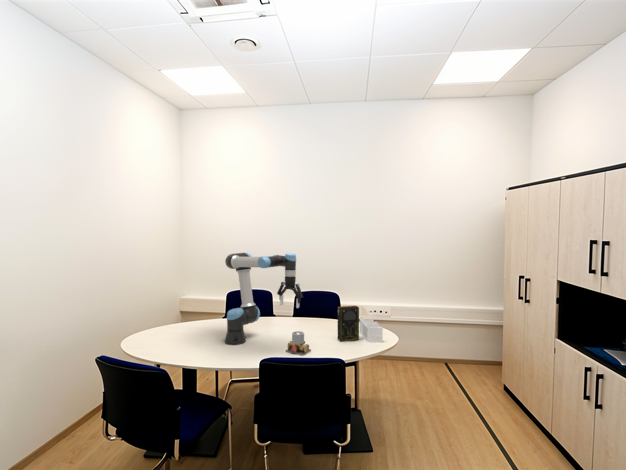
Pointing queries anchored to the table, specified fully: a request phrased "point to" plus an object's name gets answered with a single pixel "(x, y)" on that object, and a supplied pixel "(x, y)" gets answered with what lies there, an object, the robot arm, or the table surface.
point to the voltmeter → (348, 323)
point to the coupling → (298, 337)
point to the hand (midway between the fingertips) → (289, 306)
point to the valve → (298, 348)
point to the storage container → (371, 330)
